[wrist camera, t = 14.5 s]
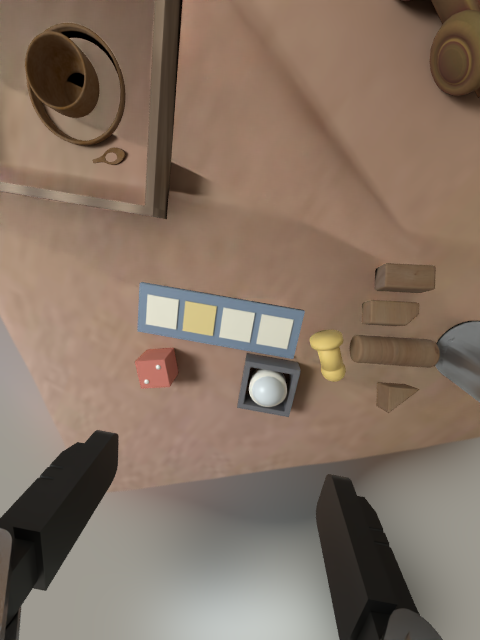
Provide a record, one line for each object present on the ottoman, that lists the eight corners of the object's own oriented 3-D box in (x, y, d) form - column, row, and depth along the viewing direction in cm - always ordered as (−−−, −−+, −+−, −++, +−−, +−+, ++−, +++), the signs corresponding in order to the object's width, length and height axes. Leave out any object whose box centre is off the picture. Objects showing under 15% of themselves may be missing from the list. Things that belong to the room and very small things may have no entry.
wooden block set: (378, 257, 32) (469, 262, 31) (352, 274, 40) (423, 277, 40) (372, 411, 31) (465, 419, 30) (346, 394, 39) (418, 400, 39)
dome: (288, 368, 41) (292, 384, 37) (281, 399, 43) (283, 418, 38) (253, 362, 41) (252, 377, 37) (247, 393, 43) (245, 411, 39)
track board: (303, 310, 39) (304, 311, 38) (292, 356, 41) (293, 359, 40) (142, 282, 39) (139, 283, 38) (139, 329, 42) (136, 331, 41)
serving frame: (185, -37, 29) (170, -92, 24) (166, 219, 36) (152, 216, 32) (-65, -72, 29) (-128, -133, 25) (-31, 186, 37) (-74, 178, 32)
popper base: (298, 362, 41) (300, 370, 39) (287, 406, 44) (288, 417, 41) (246, 353, 41) (245, 361, 39) (238, 397, 44) (237, 407, 41)
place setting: (12, 17, 32) (-41, -31, 26) (173, -34, 29) (152, -99, 24) (64, 178, 37) (29, 167, 31) (205, 146, 34) (194, 128, 29)
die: (173, 347, 42) (164, 359, 38) (178, 372, 43) (169, 387, 39) (147, 349, 43) (134, 361, 38) (152, 374, 44) (140, 388, 40)
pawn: (305, 336, 39) (315, 376, 42) (316, 349, 35) (327, 392, 38) (333, 326, 39) (342, 366, 42) (348, 338, 35) (357, 382, 38)
